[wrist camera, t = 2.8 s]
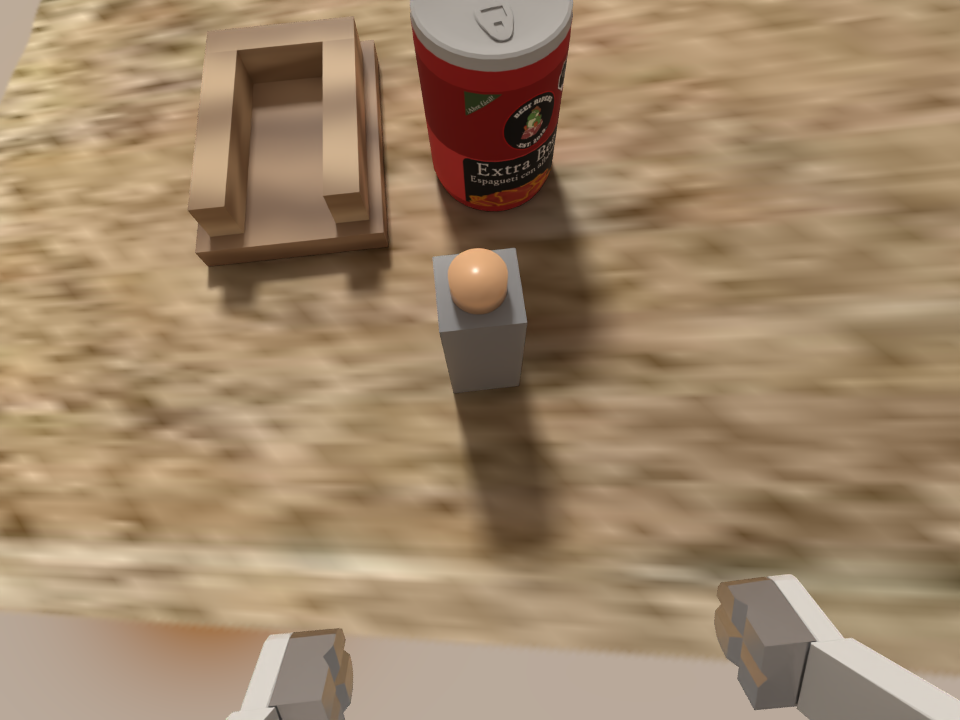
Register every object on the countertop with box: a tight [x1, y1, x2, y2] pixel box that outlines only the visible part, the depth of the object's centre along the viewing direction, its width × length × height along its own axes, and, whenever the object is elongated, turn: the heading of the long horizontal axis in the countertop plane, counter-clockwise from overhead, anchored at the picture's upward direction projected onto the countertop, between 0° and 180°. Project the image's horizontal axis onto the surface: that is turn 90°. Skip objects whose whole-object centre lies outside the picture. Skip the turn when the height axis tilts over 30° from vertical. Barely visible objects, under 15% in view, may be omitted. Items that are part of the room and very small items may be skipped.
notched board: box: [188, 16, 388, 266], centre depth 34 cm, size 16×11×4 cm
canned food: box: [410, 0, 573, 211], centre depth 30 cm, size 8×8×11 cm
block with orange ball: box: [433, 248, 527, 393], centre depth 26 cm, size 4×4×9 cm
